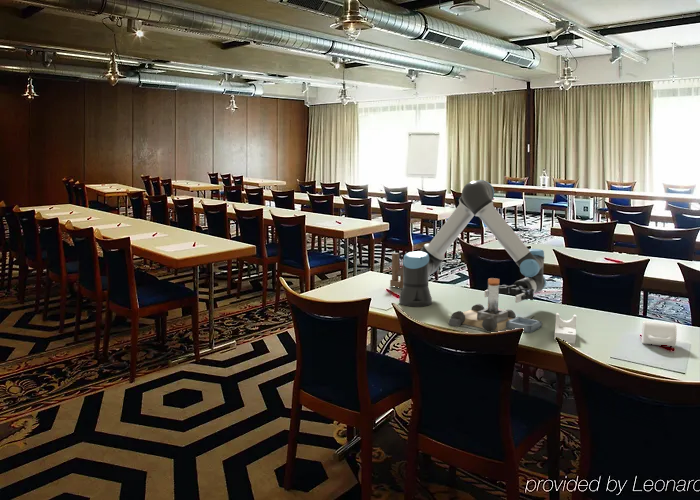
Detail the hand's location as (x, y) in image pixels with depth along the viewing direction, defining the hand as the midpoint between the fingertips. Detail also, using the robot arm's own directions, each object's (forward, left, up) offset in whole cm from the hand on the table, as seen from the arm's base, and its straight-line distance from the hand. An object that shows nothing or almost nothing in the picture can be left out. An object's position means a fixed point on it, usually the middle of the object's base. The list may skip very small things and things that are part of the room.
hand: (500, 296), depth 220 cm
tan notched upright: (-70, +23, -11) cm, 74 cm away
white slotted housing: (+55, +11, -11) cm, 58 cm away
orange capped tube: (-1, -5, -8) cm, 10 cm away
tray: (+10, 0, -11) cm, 15 cm away
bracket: (+27, -1, -11) cm, 29 cm away
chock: (-12, -15, -11) cm, 22 cm away
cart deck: (-5, -5, -11) cm, 13 cm away
